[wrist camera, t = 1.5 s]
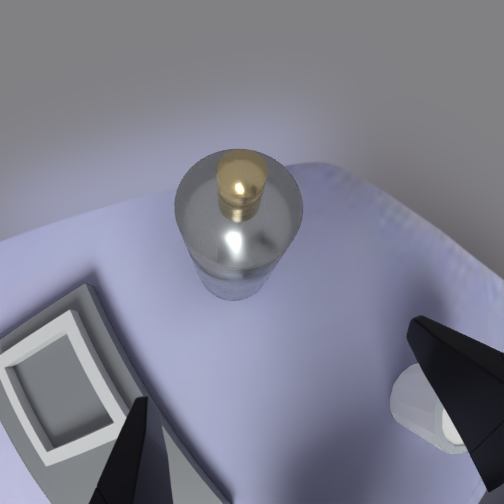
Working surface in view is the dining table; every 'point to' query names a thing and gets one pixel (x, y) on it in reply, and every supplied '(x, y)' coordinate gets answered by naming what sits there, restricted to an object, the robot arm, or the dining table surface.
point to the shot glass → (423, 411)
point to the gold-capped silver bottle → (237, 219)
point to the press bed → (79, 402)
